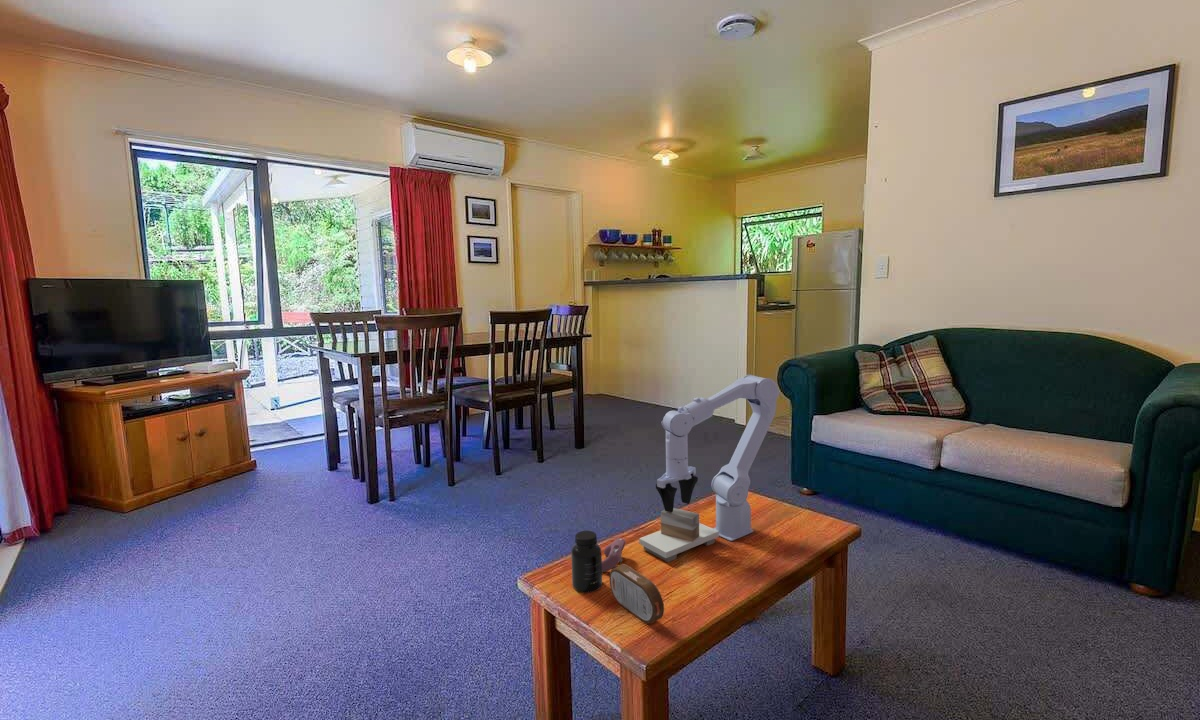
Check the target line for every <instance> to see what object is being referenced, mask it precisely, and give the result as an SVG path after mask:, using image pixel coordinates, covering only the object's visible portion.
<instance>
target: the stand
mask: <svg viewBox="0 0 1200 720" xmlns="http://www.w3.org/2000/svg"><path fill="white" fill-rule="evenodd" d="M713 528H714V527H709V526H707V525H705V524H703V523H701V522H699V537H698V538H696V539H695V540H694V541H693V542H691V541H687V540H683V539H680V538H676V537H672V536H668V535H664V534H661V530H658V531H655V532H653V533H650V534H647V535H645V536H642V537H639V539H638V541H639V545H640V546H642V547H643V550H645V551H647V552H648V553H650V554H652V555H654V556H655V557H657V558H659V559H661V560H663V561H665V562H667V563H669V562H673V561H675V560H677V555H678V554H680V553H683V552H686V551H689V550H691V549H693V548H695V547H697V546H700V545H702V544H703V545H705V546H710V545H713V544H715V543H716V539H717V538H720V536H719V531H717V530H715V529H713Z"/></svg>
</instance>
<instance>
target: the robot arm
mask: <svg viewBox="0 0 1200 720" xmlns="http://www.w3.org/2000/svg"><path fill="white" fill-rule="evenodd" d="M777 385H778V384H777V383H776V381H775V380H773V378H769V377H767V378H765V377H760V376H757V375H754V374H745V375H743V377H739V378H737V379H736V380H735V381H734V382H733V383H731V384H729V385H728V386H726V387H725V388H723V389H722V390H720V391H718V392H717V393H715V394H713V395H711V396H709V397H708V398H706V397H704V396H703V397H697V396H696V397H695V398H692V399H693V400H692V401H691V402H689V403H688V404H686V405H684V406H679V407H678V408H677V410H670V411H667V412H666V413H665V415H664V416H663V419H662V421H661V426H662V427H663V429H664V430H665V473H663V474H662V476H661V477H659V478H657V479H656V483H655V489H656V491H657V492H658V494H659V496H660V498H661V501H662V504H663V510H664V509H665V511H667V512H670V513H671V512H673V508H675V506H674V503H675V497H676V493H677V490H678V488H677V487H673V485H672V484H673V483H675V482H678V485H679V488H680V499H681V503H684V504H686V505H687V504H688V505H690V503H691V499H692V495H693V492H694V488H695V487H696V484H697V483H698V481H699V477H698V476H695V475H696V474H697V469H696V468H697V467H695V466H690V465H689V455H688V454H689V450H688V449H689V446H688V444H689V443H688V437H689V436H688V435H689V433H690V432H691V431H692V428H693V427H695V426H696V425H698V424H701V423H703V422H704V421H706V420H708V419H710V418H711V417H713V415H714V413H715V412H714V411H715V410H717V409H719V408H721V407H724V406H725V405H728V404H730V403H732V402H734V401H736V400H739V399H745V400H746V401H747V402H748V403H749V405H750V408H751V411H752V414H751V415H750V418H749V419H748V422H747V424H746V427H745V429H744V431H743V432H742V434H741V437H740V439H739V442H738V443H737V446H736V448H735V450H734V452H733V453H732V456H731V459H730V460H729V463H727V464H725V465H723V466H722V467H721V468H720V469H719V472H718V473H717V474H716V475H714V476H713V478H712V479H711V485H710V486H711V490H712V491H713V492H714V494H715V526H714V527H712V528H713V529H715V530H717V531H719V538H720V537H721V538H723V539H725V540H728V541H730V542H732V541H735V540H737V539H740V538H742V537H745V536H747V535H750V534H752V533H754V529H752V508H751V505H750V502H749V501H748V500H747V499H748V497H749V488H750V485H751V478H750V476H749V472H750V469H751V468H752V464H753V463H754V461H755V458H756V456H757V455H758V452H759V450H760V448H761V446H762V443H763V441H764V439H765V437H766V435H767V433H768V431H769V429H770V426H771V424H772V422H773V420H774V418H775V415H776V413H777V412H776V410H777V399H778V397H779V395H780V394H781V392H780V390H779V387H778V386H777Z"/></svg>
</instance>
